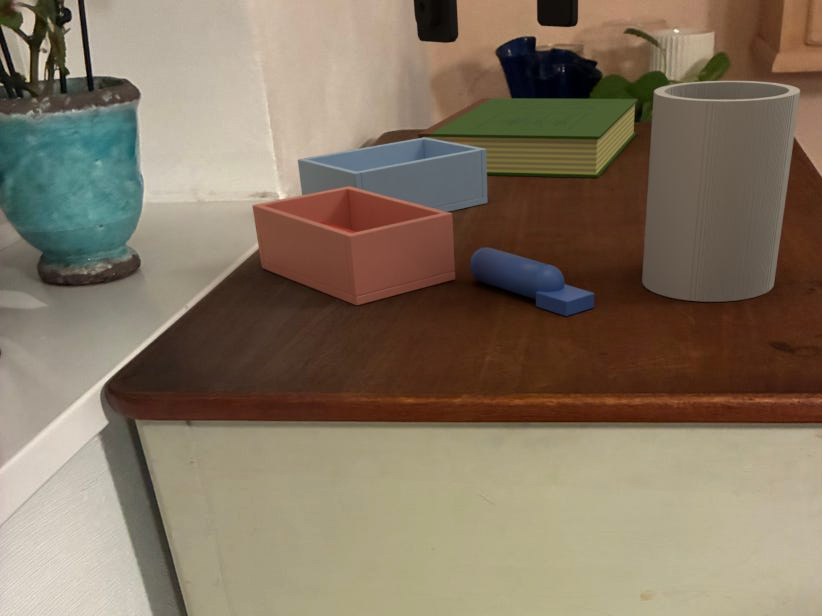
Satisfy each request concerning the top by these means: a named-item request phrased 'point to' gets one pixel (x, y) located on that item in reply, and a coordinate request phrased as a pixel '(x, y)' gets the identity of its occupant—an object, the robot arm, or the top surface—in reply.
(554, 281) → the blue capsule with block
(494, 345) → the top surface
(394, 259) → the red bin
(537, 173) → the hardcover book
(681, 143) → the cup
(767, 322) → the top surface
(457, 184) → the blue bin
